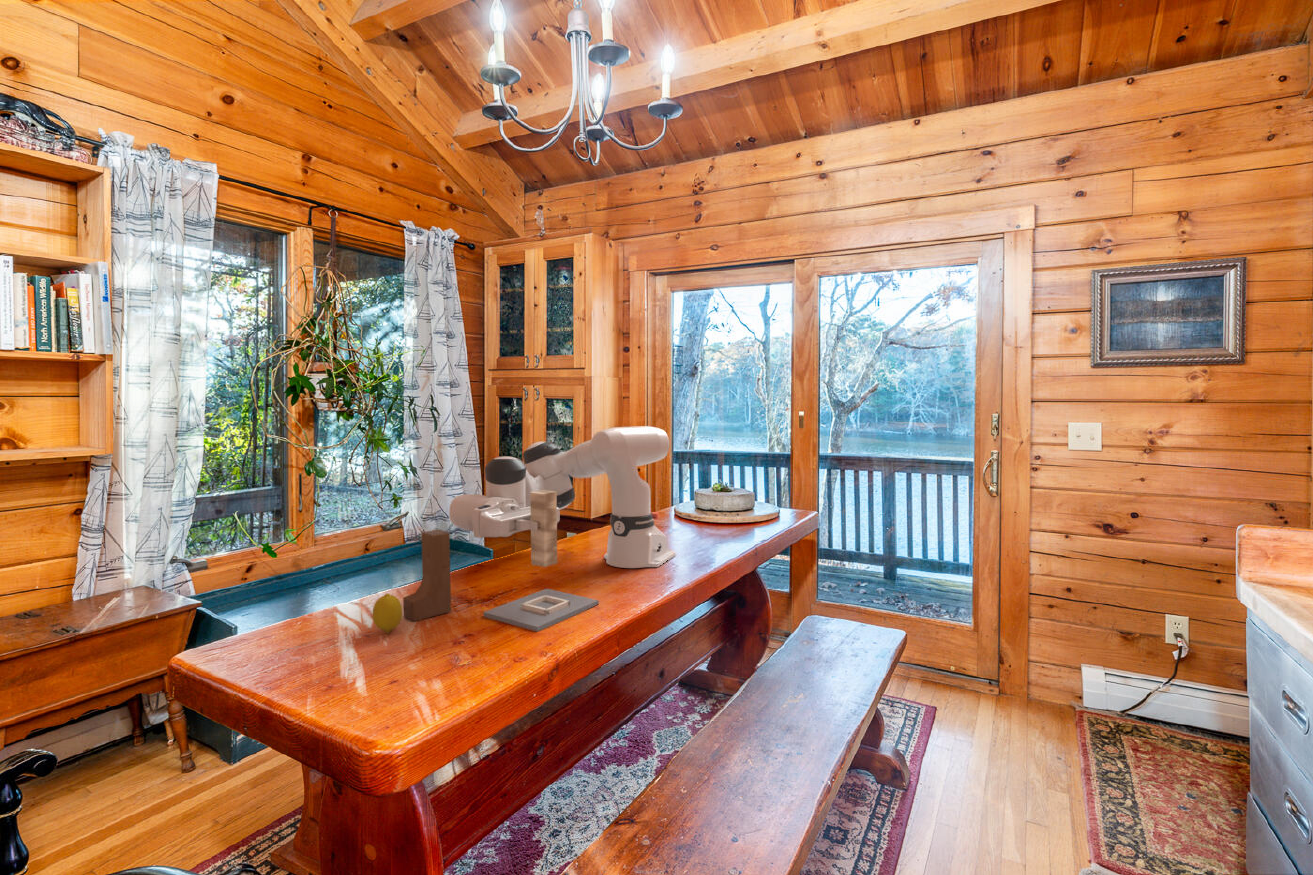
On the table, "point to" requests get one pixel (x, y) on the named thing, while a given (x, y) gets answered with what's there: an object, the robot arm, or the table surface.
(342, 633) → the table surface
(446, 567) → the brown boot
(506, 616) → the base board
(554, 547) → the birch column
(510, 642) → the table surface
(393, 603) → the lemon
